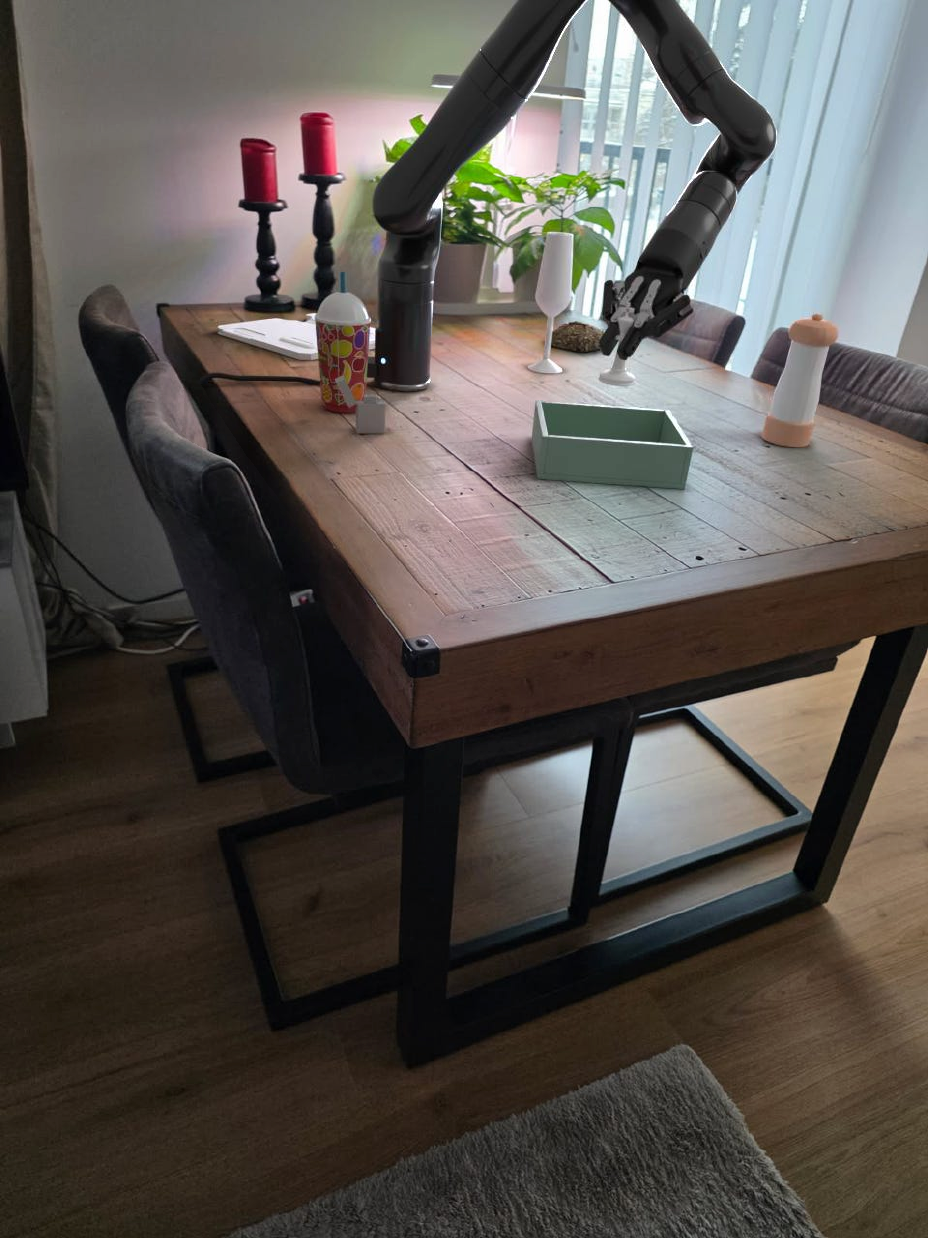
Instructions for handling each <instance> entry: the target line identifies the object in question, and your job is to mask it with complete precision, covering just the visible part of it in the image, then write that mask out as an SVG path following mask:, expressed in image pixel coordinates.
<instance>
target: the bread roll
mask: <svg viewBox="0 0 928 1238" xmlns="http://www.w3.org/2000/svg"><path fill="white" fill-rule="evenodd" d="M604 333H605V331H604V330H601V329H599V328H597V327H596V326H594V325H592V324H589V323H583V322H581V321H577V320H575V321H570V322H568V323H563V324H561V325H560V326H558V327H557V328H555V329H554V330H552V339H551V346H552V347H554V348H558V349H561V350H562V349H563V350H567V351H571V352H576V353H590V352H595V351H598V350H601V349H600V344H599V341H600V339H601V337H602V336H603V334H604Z"/></svg>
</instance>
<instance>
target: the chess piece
mask: <svg viewBox="0 0 928 1238" xmlns="http://www.w3.org/2000/svg"><path fill="white" fill-rule="evenodd" d="M621 311H622V312H626V313H625V316H623V317H620V318H619V319H618V322H619V328H620V334H619V335H617V336H616V337H615V339H617V340H619V341H618V343H617V347H618V346H619V345H620V343H621V341H622V340H623V338H624V337H625V335H626V334H627V332H628V330H629V329H630V327H632V326H633V325H634V323H635V321H634V319H633V318H630V317H629V312H632V313H634V308H630V303H627V307H626V308H624V307H621ZM597 380H598V381H599V382H600V383H603V384H604V385H605V384H606V385H609V386H615V387H630V386H633V385H636V376H635V375H634V374H632V373H631V372H628V368H626V360H621V359H620V358H619V356H618V354H617V351H616V353H615V357H614V360H613V363H612V366H610V367H609V370H608V369H607V370H604V371H601V372H600V373H599V377H598V379H597Z"/></svg>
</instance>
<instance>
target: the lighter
mask: <svg viewBox="0 0 928 1238" xmlns="http://www.w3.org/2000/svg"><path fill="white" fill-rule="evenodd" d="M335 381H336V383H337V385H338V387H339V389H340V391H341V393H342V395H343V397H344V399H345V401H346V403H347V405H348V407H349V408H350V407H352V406H354V405H356V412H355V432H356V434H360V435H361V434H385V433H386V409H387V407H386V402H385V400H381V397H380V396H379V395H377V394H366V395H364V401H355V399H354V397H353V395H352V392H351V390H350V388H349V386H348V384H347V382H346V380H345V378H344V376H343V375H342V376H340V377H338V378H336V379H335Z"/></svg>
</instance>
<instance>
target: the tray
mask: <svg viewBox="0 0 928 1238" xmlns="http://www.w3.org/2000/svg"><path fill="white" fill-rule="evenodd" d="M317 313H318V312H317ZM317 313H314V312H313V313H306V320H305V321H300V320H296V319H293V320H290V319H283V318H278V317H275V318H267V319H259V320H258V319H257V320H251V321H242V322H236V323H227V324H219V325H218V326H217V329H218V332H217V334H218V335H220V336H224V337H227V338H230V339H233V340H237V341H239V342H241V343H242V342H243V343H245V344H249V345H252V346H255V347H258V348H261V349H265V350H267V351H271V352H275V353H277V354H280V355H284V356H287V357H289V358H293V359H297V360H301V361H302V360H303V361H315V360H318V349H317V336H316V322H315V314H317ZM375 330H376V328H375V327H372V326H370V337H369V351H370V350H375Z"/></svg>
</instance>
